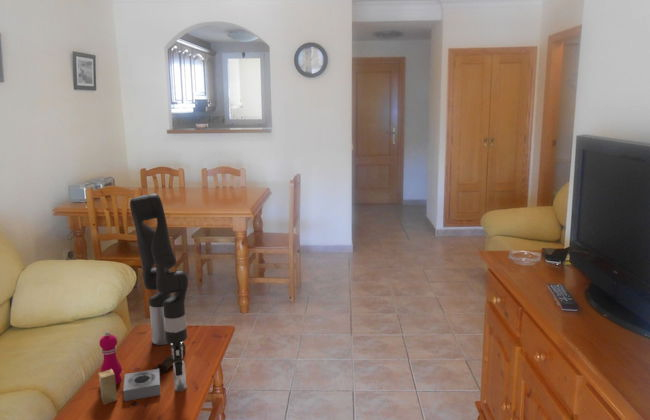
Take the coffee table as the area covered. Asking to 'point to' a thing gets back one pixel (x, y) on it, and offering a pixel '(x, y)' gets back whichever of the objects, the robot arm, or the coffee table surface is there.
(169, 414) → the coffee table surface
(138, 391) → the bore block
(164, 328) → the robot arm
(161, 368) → the hand tool
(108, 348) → the pepper mill
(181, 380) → the round bit
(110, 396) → the pale wooden block
